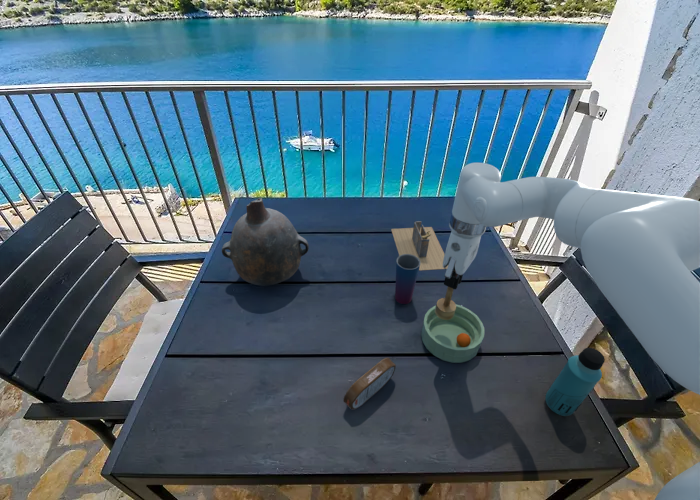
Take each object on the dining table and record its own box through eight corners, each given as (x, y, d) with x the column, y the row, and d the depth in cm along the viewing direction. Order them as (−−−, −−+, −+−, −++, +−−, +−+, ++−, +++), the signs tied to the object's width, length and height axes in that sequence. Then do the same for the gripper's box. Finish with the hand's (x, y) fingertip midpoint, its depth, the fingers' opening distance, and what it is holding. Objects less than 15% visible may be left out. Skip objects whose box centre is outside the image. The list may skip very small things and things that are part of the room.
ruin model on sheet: (451, 268, 119) (456, 246, 113) (404, 271, 118) (407, 248, 112) (431, 227, 139) (435, 205, 133) (391, 228, 137) (393, 207, 131)
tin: (387, 369, 89) (389, 349, 83) (396, 378, 87) (399, 358, 82) (342, 408, 81) (342, 388, 76) (351, 418, 79) (351, 399, 74)
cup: (403, 309, 104) (409, 272, 95) (387, 297, 109) (391, 260, 99) (418, 299, 108) (425, 262, 98) (402, 287, 112) (407, 250, 103)
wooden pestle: (457, 311, 93) (470, 265, 82) (449, 323, 90) (462, 276, 79) (439, 302, 95) (450, 257, 85) (431, 314, 92) (442, 268, 82)
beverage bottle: (548, 419, 79) (586, 369, 66) (537, 392, 84) (570, 340, 72) (577, 420, 79) (621, 370, 66) (564, 393, 84) (602, 341, 71)
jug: (290, 246, 129) (280, 171, 110) (318, 280, 115) (312, 200, 96) (224, 270, 118) (201, 191, 100) (246, 310, 104) (224, 228, 85)
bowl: (487, 334, 97) (492, 320, 94) (466, 374, 88) (471, 361, 84) (435, 309, 105) (439, 295, 101) (411, 344, 95) (413, 330, 91)
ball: (471, 343, 94) (474, 334, 92) (466, 352, 92) (469, 343, 90) (458, 336, 96) (461, 328, 94) (453, 345, 94) (455, 337, 92)
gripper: (471, 246, 67) (453, 310, 79) (497, 211, 77) (478, 272, 89) (436, 232, 71) (423, 295, 82) (465, 200, 81) (450, 261, 92)
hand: (452, 283), depth 85 cm, fingers closed on wooden pestle
